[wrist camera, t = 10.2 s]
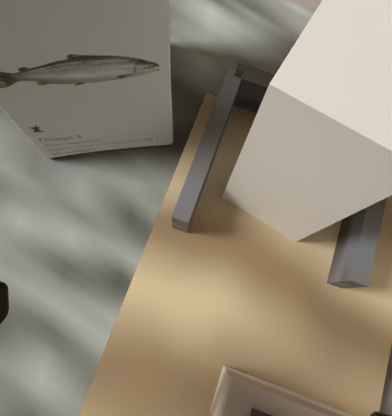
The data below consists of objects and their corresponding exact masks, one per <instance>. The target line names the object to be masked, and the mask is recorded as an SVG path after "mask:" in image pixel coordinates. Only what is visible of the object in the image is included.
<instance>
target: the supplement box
mask: <svg viewBox="0 0 392 416" xmlns="http://www.w3.org/2000/svg"><path fill="white" fill-rule="evenodd" d="M0 108H1V109H2V110H3V111H4V112H5V113H6V114H7V116H8V117H9V118H10V119H11V120H12V121H13V122H14V123H15V124H16V126H17V127H18V128H19V129H20V130H21V131H22V132H23V133H24V134H25V135H26V136H27V137H28V139H29V140H30V141H31V142H32V143H33V144H34V145H35V146H36V147H37V148H38V149H39V150H40V152H41V153H42V154H43V155H44V156H45V157H46V158H55V157H61V156H67V155H74V154H80V153H88V152H96V151H105V150H114V149H125V148H135V147H145V146H158V145H171V144H172V143H173V115H172V93H171V66H170V6H169V0H0Z"/></svg>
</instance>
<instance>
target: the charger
mask: <svg viewBox="0 0 392 416" xmlns="http://www.w3.org/2000/svg"><path fill="white" fill-rule="evenodd" d="M391 195H392V0H322V2H321V4H320V5H319V7H318V8H317V10H316V11H315V13H314V15H313V16H312V18H311V19H310V21H309V22H308V24H307V26H306V27H305V29H304V30H303V32H302V33H301V35H300V37H299V38H298V40H297V41H296V43H295V44H294V46H293V48H292V49H291V51H290V52H289V54H288V55H287V57H286V59H285V60H284V62H283V63H282V65H281V66H280V68H279V70H278V71H277V73H276V74H275V76H274V77H273V79H272V81H271V82H270V84H269V86H268V88H267V91H266V93H265V95H264V98H263V100H262V103H261V105H260V107H259V110H258V112H257V114H256V117H255V119H254V122H253V124H252V126H251V129H250V131H249V134H248V136H247V138H246V141H245V143H244V145H243V148H242V150H241V153H240V155H239V157H238V160H237V162H236V164H235V167H234V169H233V172H232V174H231V176H230V179H229V181H228V184H227V186H226V188H225V191H224V193H223V195H222V198H223V199H225V200H227V201H228V202H230V203H232V204H233V205H235V206H237V207H238V208H240V209H242V210H244V211H245V212H247V213H249V214H250V215H252V216H254V217H255V218H257V219H259V220H260V221H262V222H264V223H266V224H267V225H269V226H271V227H272V228H274V229H276V230H277V231H279V232H281V233H282V234H284V235H286V236H288V237H289V238H291V239H293V240H294V241H296V242H297V241H299V240H301V239H303V238H305V237H307V236H309V235H311V234H313V233H315V232H317V231H319V230H321V229H323V228H325V227H327V226H329V225H332V224H334V223H336V222H338V221H340V220H342V219H344V218H346V217H348V216H350V215H352V214H354V213H356V212H358V211H360V210H362V209H364V208H366V207H368V206H371V205H373V204H375V203H377V202H379V201H381V200H383V199H385V198H387V197H389V196H391Z"/></svg>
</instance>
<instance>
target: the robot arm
mask: <svg viewBox="0 0 392 416" xmlns="http://www.w3.org/2000/svg"><path fill="white" fill-rule="evenodd" d="M8 311H9V298H8V286H7V284H5V283H3V282H1V281H0V324H1V323H2V321H3V320H4V319H5V318H6V316H7V314H8ZM370 416H389V415H386V414H384V413H381V412H378V411H375V412H373V413H372V414H371V415H370Z"/></svg>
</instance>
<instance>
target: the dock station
mask: <svg viewBox="0 0 392 416" xmlns="http://www.w3.org/2000/svg"><path fill="white" fill-rule="evenodd" d="M274 76H275V75H273V74H270V73H267V72H264V71H261V70H258V69H255V68H252V67H249V66H246V65H243V64H240V63H239V64H238V66H237V69H233V68H230V67H229V68H228V71H227V73H226V76H225V78H224V81H223V84H222V86H221V89H220V91H219V94H218V96H217V95H214V94H211V93H208V92H206V95H205V97H204V100H203V102H202V105H201V107H200V110H199V112H198V115H197V117H196V120H195V122H194V125H193V127H192V130H191V132H190V135H189V138H188V140H187V143H186V145H185V148H184V150H183V153H182V155H181V158H180V160H179V163H178V165H177V168H176V170H175V173H174V175H173V178H172V181H171V183H170V186H169V188H168V191H167V193H166V196H165V198H164V201H163V203H162V206H161V208H160V211H159V213H158V216H157V218H156V221H155V223H154V226H153V229H152V231H151V234H150V236H149V239H148V241H147V244H146V246H145V249H144V251H143V254H142V256H141V259H140V261H139V264H138V266H137V269H136V272H135V274H134V277H133V279H132V282H131V284H130V287H129V289H128V292H127V294H126V297H125V299H124V302H123V304H122V307H121V309H120V312H119V314H118V317H117V320H116V322H115V325H114V327H113V330H112V332H111V335H110V337H109V340H108V342H107V345H106V347H105V350H104V352H103V355H102V357H101V360H100V363H99V365H98V368H97V370H96V373H95V375H94V378H93V380H92V383H91V385H90V388H89V390H88V393H87V395H86V398H85V400H84V403H83V405H82V408H81V411H80V413H79V416H370V415H371V414H372V413H373V412H375V411H378V412H379V410H380V405H381V400H382V394H383V389H384V383H385V378H386V373H387V367H388V362H389V356H390V351H391V346H392V195H391V196H389V197H387V198H385V199H383V200H381V201H379V202H377V203H375V204H373V205H371V206H368V207H366V208H364V209H362V210H360V211H358V212H356V213H354V214H352V215H350V216H348V217H346V218H344V219H342V220H340V221H338V222H336V223H334V224H332V225H329V226H327V227H325V228H323V229H321V230H319V231H317V232H315V233H313V234H311V235H309V236H307V237H305V238H303V239H301V240H299V241H297V242H296V241H294V240H293V239H291V238H289V237H288V236H286V235H284V234H282V233H281V232H279V231H277V230H276V229H274V228H272V227H271V226H269V225H267V224H266V223H264V222H262V221H260V220H259V219H257V218H255V217H254V216H252V215H250V214H249V213H247V212H245V211H244V210H242V209H240V208H238V207H237V206H235V205H233V204H232V203H230V202H228V201H227V200H225V199H223V198H222V195H223V193H224V191H225V188H226V186H227V184H228V181H229V179H230V176H231V174H232V172H233V169H234V167H235V164H236V162H237V160H238V157H239V155H240V153H241V150H242V148H243V145H244V143H245V141H246V138H247V136H248V134H249V131H250V129H251V126H252V124H253V122H254V119H255V117H256V114H257V112H258V110H259V107H260V105H261V103H262V100H263V98H264V95H265V93H266V91H267V88H268V86H269V84H270V82H271V81H272V79H273V77H274Z"/></svg>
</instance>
